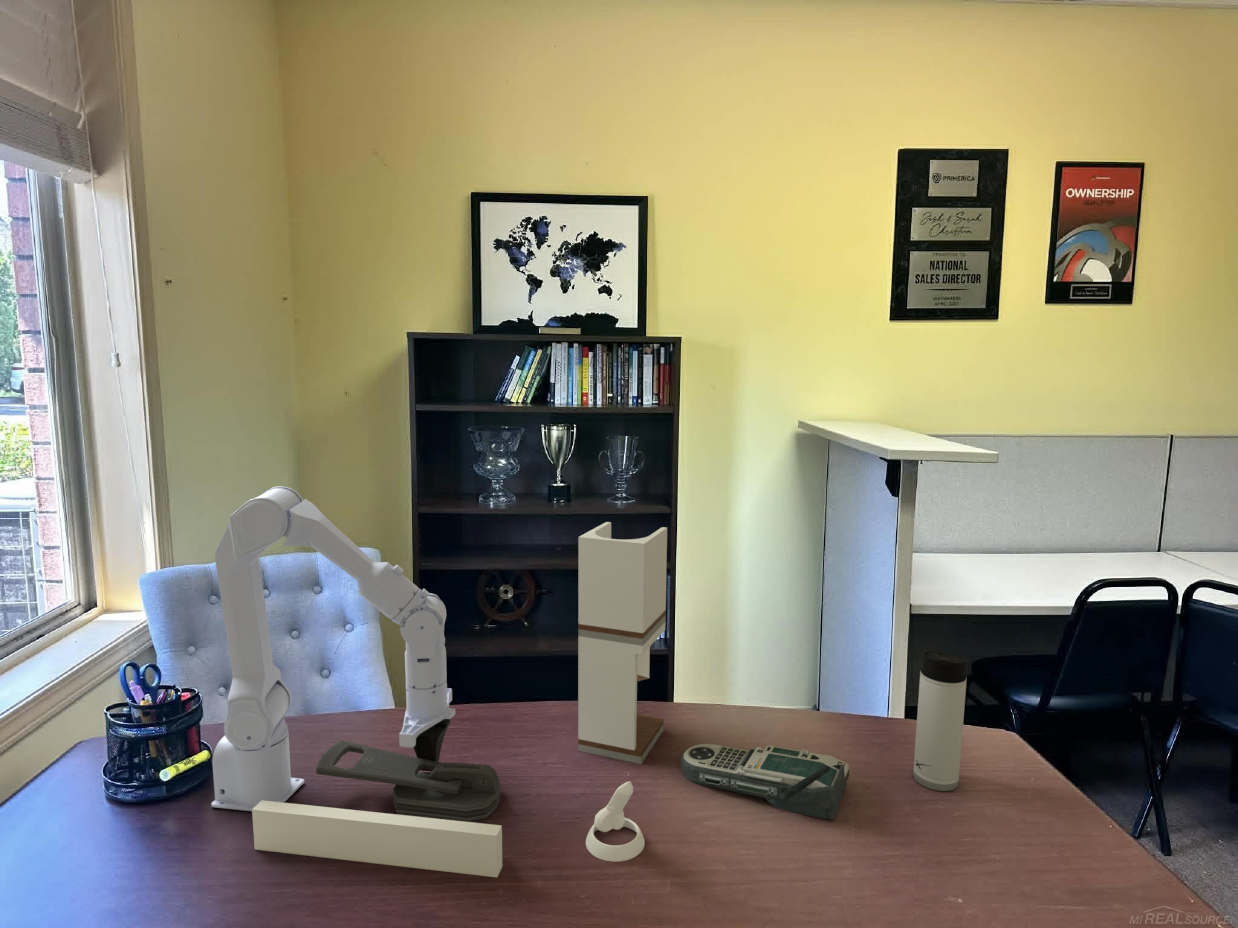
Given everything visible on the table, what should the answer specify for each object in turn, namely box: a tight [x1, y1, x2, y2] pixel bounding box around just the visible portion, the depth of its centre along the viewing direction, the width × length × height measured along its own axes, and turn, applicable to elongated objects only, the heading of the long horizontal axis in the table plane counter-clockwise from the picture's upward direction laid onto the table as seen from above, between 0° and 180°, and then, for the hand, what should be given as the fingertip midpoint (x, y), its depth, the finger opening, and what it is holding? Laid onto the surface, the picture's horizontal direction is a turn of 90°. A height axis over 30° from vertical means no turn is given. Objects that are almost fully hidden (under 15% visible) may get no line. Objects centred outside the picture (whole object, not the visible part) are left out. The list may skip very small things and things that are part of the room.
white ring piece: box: [585, 781, 646, 862], centre depth 96 cm, size 8×12×7 cm
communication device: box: [680, 743, 850, 820], centre depth 111 cm, size 12×24×9 cm, turn 63°
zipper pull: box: [315, 739, 501, 822], centre depth 107 cm, size 9×7×25 cm
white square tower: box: [577, 521, 668, 765], centre depth 122 cm, size 11×11×35 cm
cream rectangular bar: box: [251, 800, 503, 878], centre depth 95 cm, size 32×4×6 cm, turn 81°
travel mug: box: [912, 650, 968, 792], centre depth 112 cm, size 6×7×20 cm
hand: (428, 768), depth 111 cm, fingers closed
